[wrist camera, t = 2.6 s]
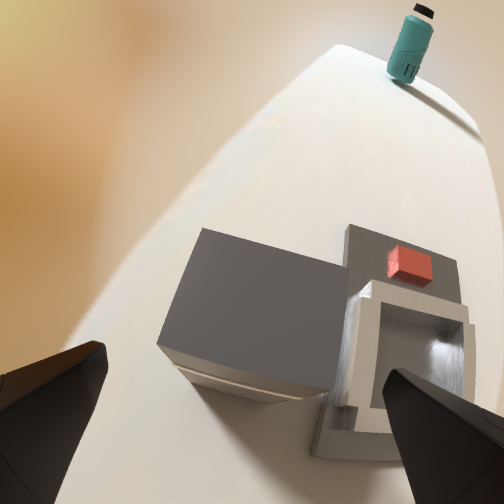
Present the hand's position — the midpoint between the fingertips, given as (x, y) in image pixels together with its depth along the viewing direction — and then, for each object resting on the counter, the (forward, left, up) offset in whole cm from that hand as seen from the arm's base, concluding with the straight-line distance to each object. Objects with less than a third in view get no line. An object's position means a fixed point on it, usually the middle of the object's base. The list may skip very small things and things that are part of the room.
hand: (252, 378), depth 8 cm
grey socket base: (+6, -12, -10) cm, 17 cm away
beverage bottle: (+61, -18, -10) cm, 64 cm away
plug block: (+2, 0, -10) cm, 10 cm away
